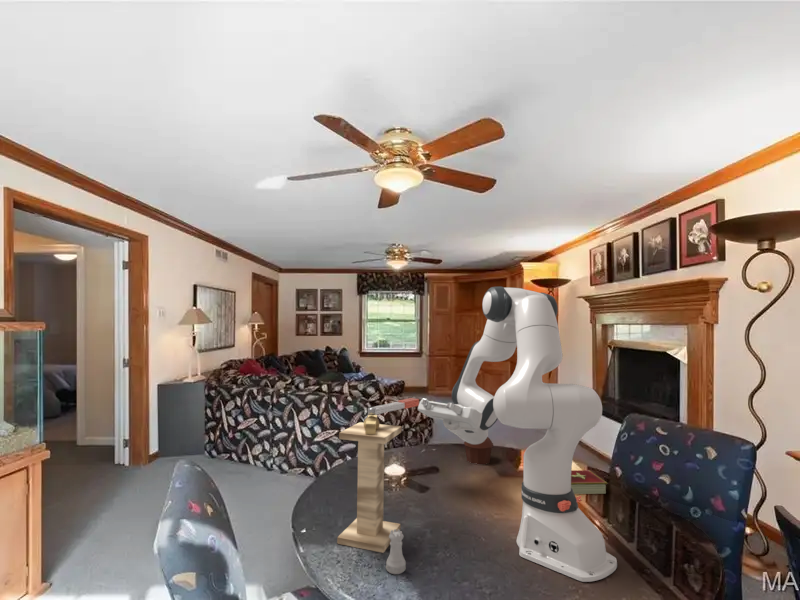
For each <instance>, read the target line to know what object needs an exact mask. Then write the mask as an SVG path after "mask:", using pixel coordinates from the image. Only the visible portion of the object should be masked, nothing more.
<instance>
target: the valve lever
mask: <svg viewBox="0 0 800 600" xmlns="http://www.w3.org/2000/svg"><path fill="white" fill-rule="evenodd" d="M419 403H420V399H419V398H414V397H409V398H404V399H400V400H397V401H395V402H389V403H385V404H380V405H376V406H370V407H367V416H368V415H377V416H378V415H380V414H385V413H388V412H394V411H397V410H401V409H410V408H411V409H412V408H415V407H418V406H419Z"/></svg>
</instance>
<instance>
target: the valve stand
mask: <svg viewBox="0 0 800 600" xmlns="http://www.w3.org/2000/svg"><path fill="white" fill-rule="evenodd" d="M402 429H403V428H402V426H401V425H392V424H381V423H380V421H379V418H378V414H377V415H368V414H367V417H366V418H365V419H364V420H363V422H362V421H360V422H358V423H355V424H354V425H352V426H350V427H347V428H346V429H343V430H342V431H340V432H339V433H338V436H339V437H338V439H339V440H343V441H344V440H345V441H353V442H358V443H357V488H356V489H357V490H356V491H357V495H356V497H357V498H356V518H355V519H354V520H353V521H352V522H351V523H350V524H349V525H348V527H346V528H345V529H344V530H343V531H341V533H340V534H339V535H338V536H337V539H336V540H337V541H336V544H338V545H342V546H347V547H353V548H357V549H363V550H367V551H371V552H377V553H382V554H384V553H385V552H386V550H387V549H388V548H389V546H391V545H390V542H391V540H390V538H389V535H390V533H391V530H393V532H394V529H396V531H398V529H399V530H400V531H402V530H401V525H402V524H401V523H397V522H391V521H386V520H384V485H385V484H384V482H385V481H384V479H385V477H384V476H385V473H384V472H385V470H384V468H385V467H384V466H385V463H384V462H385V445H386V444H387V443H388V442H390V441H391V440H393V439H394V438H395V437H397V436H398V435H399V434H401V433H403V432H402Z"/></svg>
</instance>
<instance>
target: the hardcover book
mask: <svg viewBox="0 0 800 600" xmlns="http://www.w3.org/2000/svg"><path fill="white" fill-rule="evenodd" d="M606 485H608V482H607V481H605V480H604V479H603V478H602V477H600V476H598V475H597V474H596V473H594V472H593V471H591V470H589V469H586V470H585V469H583V470H581V469H579V470H572V469H571V488H572V489H573V492H574V495H581V494H582V495H585V494H586V495H591V494H592V495H594V494H596V495H597V494H599V495H600V494H605V495H606V493H607V491H606V490H607V486H606Z"/></svg>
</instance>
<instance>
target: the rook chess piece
mask: <svg viewBox="0 0 800 600" xmlns="http://www.w3.org/2000/svg"><path fill="white" fill-rule="evenodd" d="M404 537H405V536H404V534H403V531H402V530H399V529H398V531H396V529H394V532H393V530H391V533H390V535H389V538H390V540H391V542H390V545H389V546H390V548H389V549H390V550H389V555H388V557H387V559H386V561H385V570H386V571H387V572H388V573H389V574H392V575H401V574H403V573H404V572H405V571H406V569H407V565H406V564H407V562H406V560H405V557H404V555H403V549H402V548H403V541H402V540H403V539H404Z"/></svg>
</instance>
